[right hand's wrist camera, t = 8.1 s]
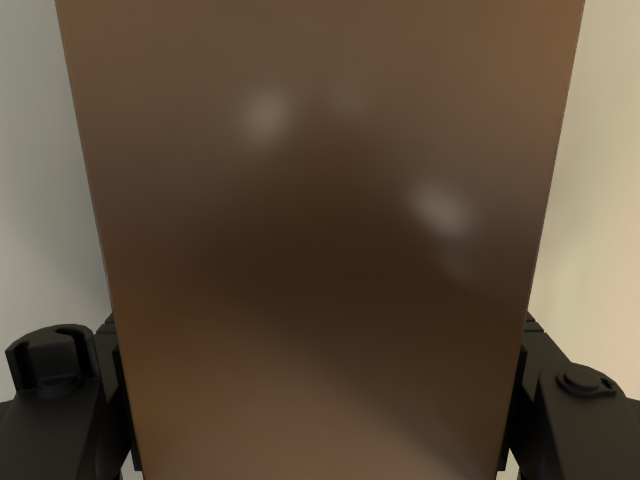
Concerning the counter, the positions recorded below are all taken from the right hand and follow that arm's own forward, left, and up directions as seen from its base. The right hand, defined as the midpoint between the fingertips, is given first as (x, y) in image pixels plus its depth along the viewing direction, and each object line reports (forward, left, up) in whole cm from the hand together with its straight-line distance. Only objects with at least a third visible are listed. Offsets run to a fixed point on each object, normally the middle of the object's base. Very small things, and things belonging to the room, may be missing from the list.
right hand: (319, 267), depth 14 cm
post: (+22, -16, -1) cm, 27 cm away
